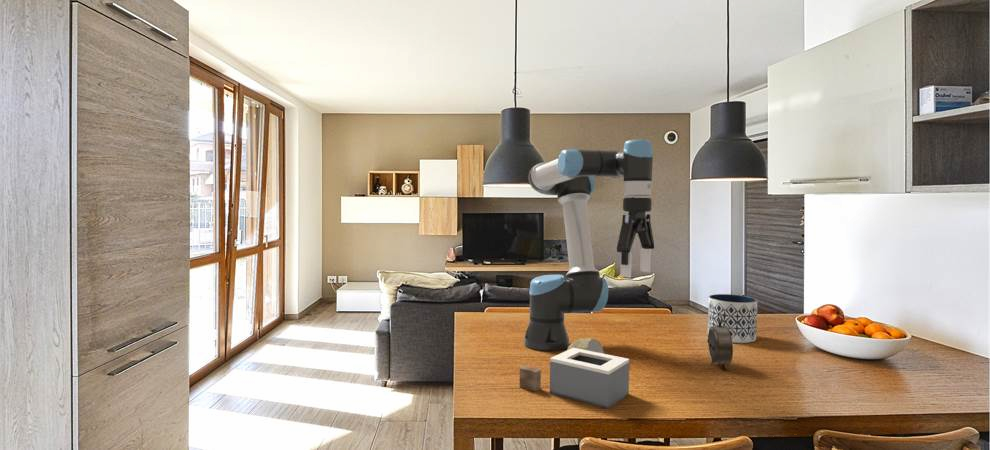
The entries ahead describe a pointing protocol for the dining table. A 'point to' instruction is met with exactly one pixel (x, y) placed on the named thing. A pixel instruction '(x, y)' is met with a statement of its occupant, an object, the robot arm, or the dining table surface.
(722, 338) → the alarm clock
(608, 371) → the box
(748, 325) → the planter
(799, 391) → the dining table surface
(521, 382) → the stand
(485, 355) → the dining table surface
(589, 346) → the coral
